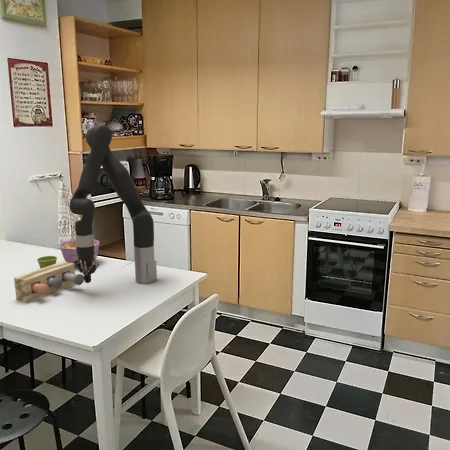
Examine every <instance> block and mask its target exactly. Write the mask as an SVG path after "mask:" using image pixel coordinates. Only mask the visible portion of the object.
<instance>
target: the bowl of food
mask: <svg viewBox="0 0 450 450" xmlns="http://www.w3.org/2000/svg"><path fill="white" fill-rule="evenodd" d="M99 247H100V240H98V239H94V250H95V254H94V256H93V257H94V261H95V262H96V259H97V258H98V253H99ZM59 248H60V251H61V255H62V257H63V261H64V262H69V263H74V261H76V260H77V259H78V256H77V253H76V238H75V239H71V240H70V239H69V240H66V241H64V242H61V243H60V244H59ZM74 268H77V266H76V264H75V263H74Z"/></svg>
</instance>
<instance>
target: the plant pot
mask: <svg viewBox="0 0 450 450" xmlns="http://www.w3.org/2000/svg"><path fill="white" fill-rule="evenodd" d="M57 260H58V257H57V256H56V255H46V256H41V257H40V256H39V257H38V258H36V262H37V264H39V269H42V268H45V267H48V266H51V265H54V264H57Z"/></svg>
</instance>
